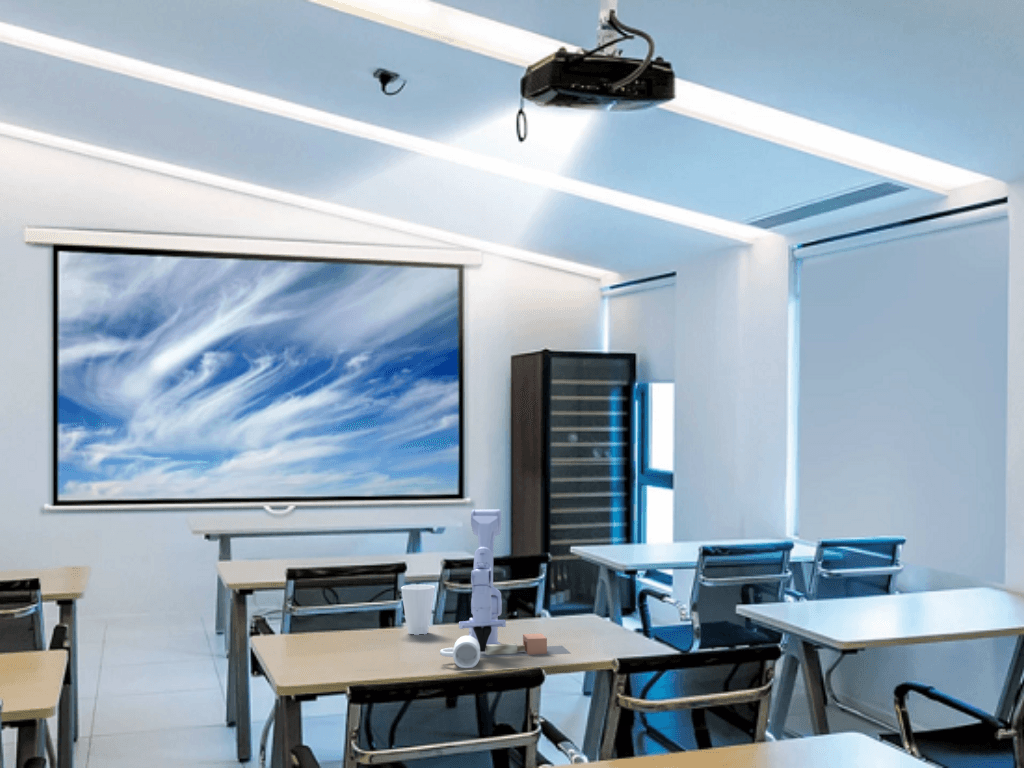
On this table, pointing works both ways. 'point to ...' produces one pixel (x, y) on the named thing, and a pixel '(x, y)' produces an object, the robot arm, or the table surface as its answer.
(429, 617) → the cup
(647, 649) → the table surface
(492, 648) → the cream rectangular block
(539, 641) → the salmon orange block
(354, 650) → the table surface
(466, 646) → the mug
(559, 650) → the felt mat
